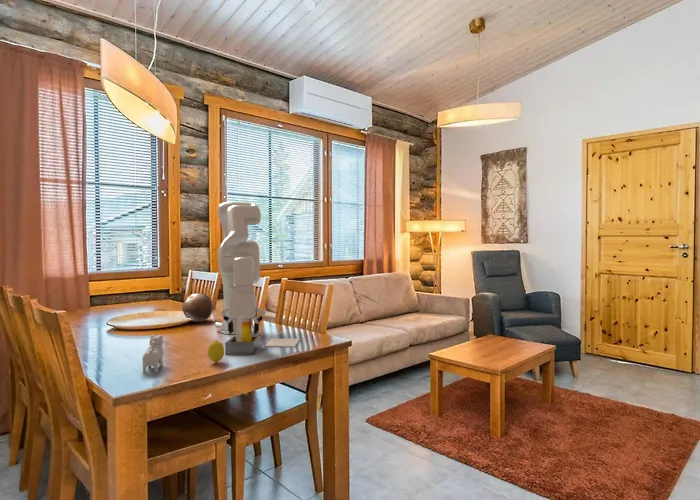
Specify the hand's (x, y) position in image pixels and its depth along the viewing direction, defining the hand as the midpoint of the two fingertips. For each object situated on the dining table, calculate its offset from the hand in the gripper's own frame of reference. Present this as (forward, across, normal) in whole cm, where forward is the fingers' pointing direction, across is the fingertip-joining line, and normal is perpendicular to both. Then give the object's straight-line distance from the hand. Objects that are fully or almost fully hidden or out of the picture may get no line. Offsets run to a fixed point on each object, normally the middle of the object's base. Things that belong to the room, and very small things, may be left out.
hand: (243, 333), depth 173 cm
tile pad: (+7, +13, +12) cm, 19 cm away
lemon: (+7, -5, -17) cm, 19 cm away
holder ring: (+7, 0, 0) cm, 7 cm away
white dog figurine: (+7, -24, -24) cm, 35 cm away
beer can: (+7, 0, 0) cm, 7 cm away
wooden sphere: (+7, -40, +57) cm, 70 cm away
